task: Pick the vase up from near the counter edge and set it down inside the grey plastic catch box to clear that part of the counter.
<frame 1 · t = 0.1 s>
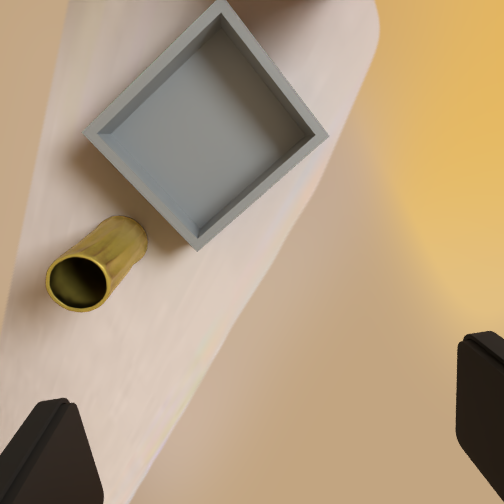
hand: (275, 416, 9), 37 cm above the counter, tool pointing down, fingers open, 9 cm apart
catch box: (210, 135, 43), on the counter
vase: (122, 240, 46), on the counter
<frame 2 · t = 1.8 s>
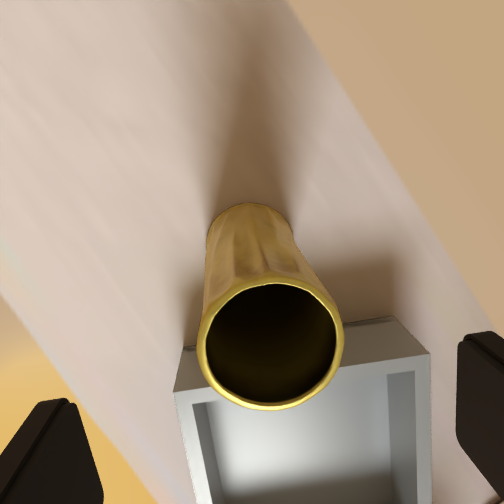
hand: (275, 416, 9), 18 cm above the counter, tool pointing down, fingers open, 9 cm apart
catch box: (300, 431, 31), on the counter
vase: (249, 245, 27), on the counter
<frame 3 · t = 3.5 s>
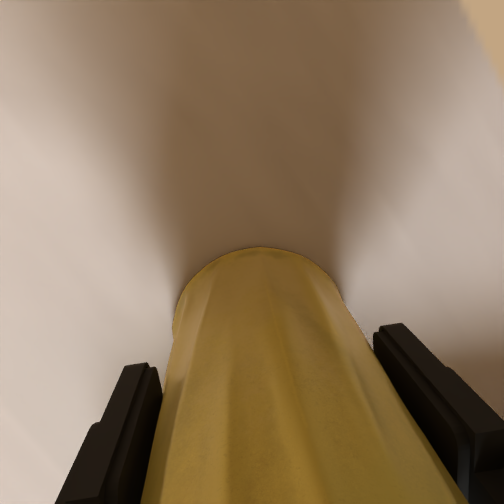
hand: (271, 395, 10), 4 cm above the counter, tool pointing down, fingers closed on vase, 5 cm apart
vase: (259, 324, 14), on the counter, touching gripper
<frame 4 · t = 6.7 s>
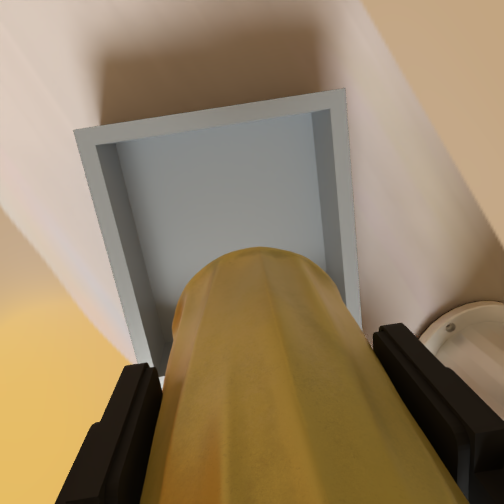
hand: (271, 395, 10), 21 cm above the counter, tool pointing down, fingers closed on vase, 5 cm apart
catch box: (232, 233, 30), on the counter
vase: (259, 324, 14), point 17 cm above the counter, touching gripper
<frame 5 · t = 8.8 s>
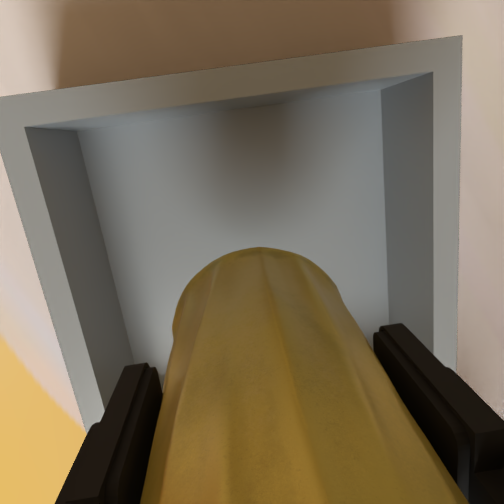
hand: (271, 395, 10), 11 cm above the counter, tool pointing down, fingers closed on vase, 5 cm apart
catch box: (252, 269, 21), on the counter
vase: (259, 325, 14), point 7 cm above the counter, touching gripper
when the fingers open (6 cm above the counter, at t = 10.2 s): vase drops 1 cm, resting on catch box.
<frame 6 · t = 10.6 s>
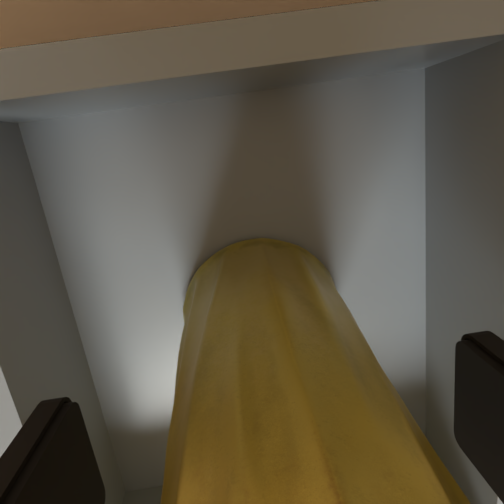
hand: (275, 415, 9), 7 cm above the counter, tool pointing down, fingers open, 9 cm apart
catch box: (253, 300, 16), on the counter
vase: (260, 308, 16), point 1 cm above the counter, touching catch box
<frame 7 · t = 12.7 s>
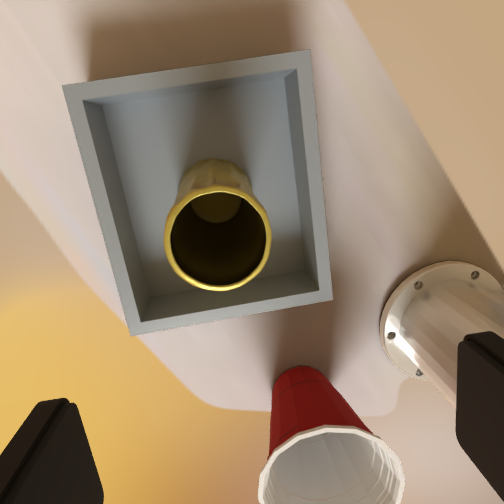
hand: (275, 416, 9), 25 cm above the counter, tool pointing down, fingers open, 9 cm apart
plastic cup: (297, 388, 39), on the counter
catch box: (212, 193, 33), on the counter
vase: (215, 195, 32), point 1 cm above the counter, touching catch box
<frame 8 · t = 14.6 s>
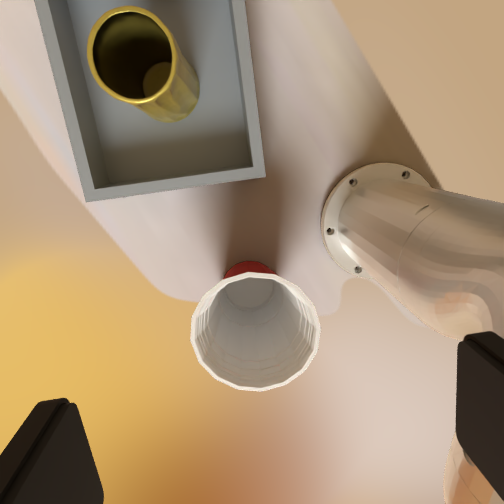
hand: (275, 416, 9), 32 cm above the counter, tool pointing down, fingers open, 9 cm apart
plastic cup: (247, 283, 43), on the counter
catch box: (165, 88, 37), on the counter
vase: (167, 88, 36), point 1 cm above the counter, touching catch box
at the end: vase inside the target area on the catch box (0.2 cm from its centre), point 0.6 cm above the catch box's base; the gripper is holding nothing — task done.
